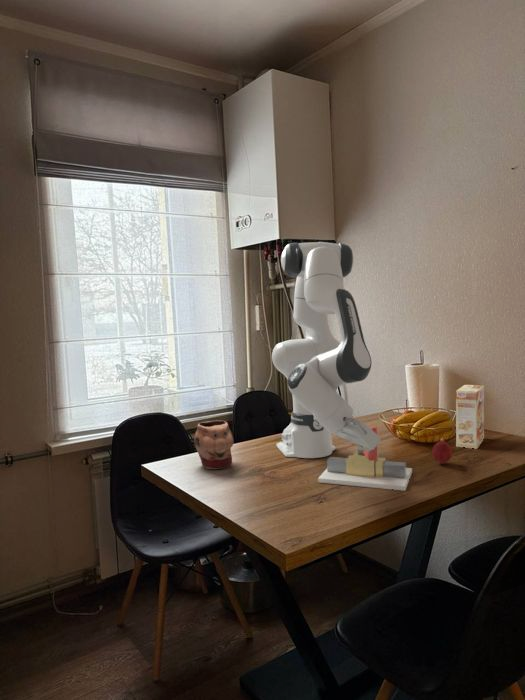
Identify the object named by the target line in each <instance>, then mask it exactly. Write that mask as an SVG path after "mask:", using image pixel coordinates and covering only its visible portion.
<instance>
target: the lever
mask: <svg viewBox="0 0 525 700" xmlns="http://www.w3.org/2000/svg"><path fill="white" fill-rule="evenodd" d="M368 427H369V428H371V429H372V430H373V431H374V432H375V433H376V434H377V435H378V428H377V426H368ZM357 449H358V453H361V454H364V455H365V456H366V458H367V459H368V460H369V461H377V451H378V445H377V446H376V448H375V449H374V450H370V452H367V451H365V450H363V449H362V448H361V447H360V446H358V445H357Z"/></svg>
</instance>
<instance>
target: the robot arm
mask: <svg viewBox="0 0 525 700" xmlns="http://www.w3.org/2000/svg"><path fill="white" fill-rule="evenodd" d="M354 259H355V258H354V254H353V251H352V248H351V247H350V245H348V244H345V243H341V242H339V243H335V242H326V241H325V242H324V241H318V242H317V241H316V242H314V241H313V242H311V241H310V242H299V243H298V242H297V241H295V242H291V243H287V244H286V245H285V246H284V248H283V251H282V253H281V256H280V263H281V268H282V270H283V273H284V274H285V275H286V276H287V277H292V278H296V280H295V285H294V287H295V288H294V293H293V294H294V296H293V297H294V298H293V315H292V316H293V321H294V322H295V323H296V325H298V327H299V326H300V327H301V328H302V329H304V330H305V331H304V332H305V338H298V339H297V338H295V339H288V340H285V341H281V342H278V343H277V344H275V346H274V348H273V350H272V353H271V360H272V364H273V365H274V367H275V369H276V370H277V371H278V372H280V373H281V374H282V375H283V376H284V377H285V378H286V379H287V381H286V383H287V387H288V390H289V392H290V393H291V397H292V408H293V409H292V410H293V411H291V412H290V413H291V414H290V423H289V425H288V426H286V428H284V429H283V431H282V433H280V438H281V441H280V442H277V443H276V447H277V449H279V451H280V453H282V454H283V455H284V456H285V457H287V458H302V459H318V458H319V459H320V458H324V457H325V458H326V457H328V456H331V455H332V454H333V451H335V450H336V446H335V445H333V438H332V434H333V435H335V437H338V438H341V439H344V440H347V441H349V442H352V443H354V444H356V445H357V447H358V446H360V447H361V448H362V449H363V450H365V451H367V452H370V450H374V449H375V448H376V446H377V447H378V445H379V444H380V442H381V437H380V436H379V434H378V433H377V434H376V433H375V432H374V431H373V430H372V429H371V428H369V427H370V426H369V425H367V424H366V422H364V421H362V420H360V419H357V418H355V417H354V416H353V415H354V414H353V413H354V411H353V410H354V409H353V407H352V406H351V405H350V404H349V403H348V402H347V401H346V400H345V398H343V397H342V396H341V394H339V393H338V392H337V390H338V387H342V386H344V385H347V384H352V383H357V382H361V381H364V380H366V378H367V377H368V376H369V374H370V372H371V369H372V357H371V354H370V351H369V350H368V347H367V345H366V342H365V337H364V334H363V330H362V329H363V328H362V325H361V320H360V316H359V311H358V308H357V305H356V302H355V299H354V297H353V294H352V293H351V292H350V291H349V290H347V289H345V286H344V278H346V277H347V276H348V275H349V274H350V273H351V272H352V268H353V266H354ZM328 315H335V316H336V319H337V325H338V328H339V334H340V337H341V341H339V340H337V339H336V338H335V337H334V336H333V334H332V332H331V329H330V326H329V322H328V321H329V320H328Z"/></svg>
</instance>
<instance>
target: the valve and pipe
mask: <svg viewBox="0 0 525 700" xmlns="http://www.w3.org/2000/svg"><path fill="white" fill-rule="evenodd" d="M406 464H407V463H406V462H402V461H392V460H391V461H389V460H386V457H379V450H377V461H369V460H368V459H367V458H366V456H365V455H364V454H361V453H358V448H357V449H356V450H355V452H354V453H353V454H352V455H351V454H350V455H348V457H339V456H330V457H328V458H327V459H326V469H327V471H329V472H340V473H346V474H350V475H353V476H364V477H375V476H376V477H383V476H386V477H397V478H405V475H406V468H407V465H406Z"/></svg>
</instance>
